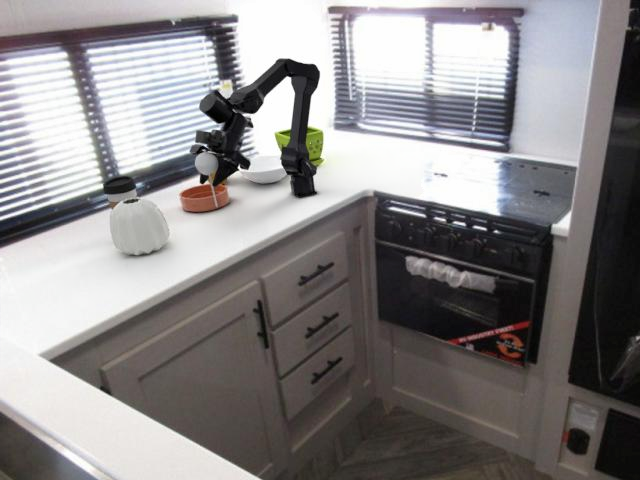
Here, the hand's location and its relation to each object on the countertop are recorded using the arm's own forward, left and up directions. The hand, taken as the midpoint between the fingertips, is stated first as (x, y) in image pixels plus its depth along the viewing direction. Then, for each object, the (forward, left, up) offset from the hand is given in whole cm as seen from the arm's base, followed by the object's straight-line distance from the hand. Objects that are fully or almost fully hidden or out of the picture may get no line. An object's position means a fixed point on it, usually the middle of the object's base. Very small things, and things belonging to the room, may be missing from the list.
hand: (207, 185), depth 153 cm
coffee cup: (+20, -16, -13) cm, 29 cm away
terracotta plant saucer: (-3, -25, -13) cm, 28 cm away
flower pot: (-44, -46, -13) cm, 65 cm away
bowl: (-27, -36, -13) cm, 47 cm away
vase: (+19, 0, -13) cm, 23 cm away
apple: (-12, -45, -13) cm, 48 cm away
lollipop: (-1, -1, -7) cm, 7 cm away
